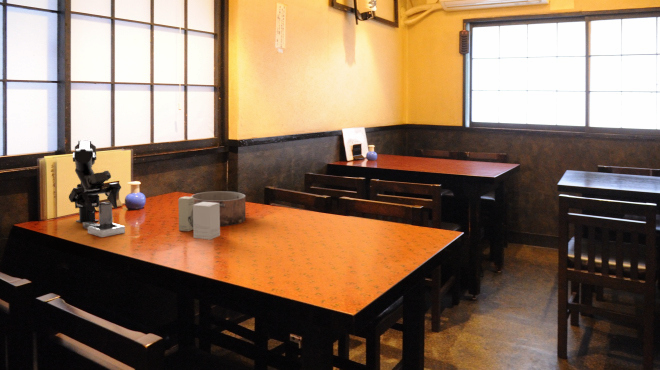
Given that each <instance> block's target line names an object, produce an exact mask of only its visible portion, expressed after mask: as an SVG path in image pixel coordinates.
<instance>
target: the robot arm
mask: <svg viewBox="0 0 660 370" xmlns="http://www.w3.org/2000/svg"><path fill="white" fill-rule="evenodd" d="M77 141H78V143H77V144H76V145H75V146H74V152H73V153H72V162H74V165H75V169H74V172H75V174H76V175H77V178H78V180H79V181H80V183H78V184H77V185H76V187H73V189H72V190H70V193H69V194H68V200H69V201H70V203H74V208H75V209H78V211H79V214H78V215H79V219H76V220H75V222H77V223H80V224H83V222H87V221H90V222H93V223H97V222H99V219H96V208H99V204H100V203H101V202H100V195H102V194H104V195H105V196H106V199H107V201H108V202H111V204H112V208H114V209H115V210H116V209H117V208H118V203H117V201H118V199H117V196H118V194H119V192H120V190H121V189H122V185H121V183H119V182H112V183H111V182H110V183H108V184H107V187H103V186H105V182H107V181H109V180H110V179H111V178H112V175H111V172H110V171H109V170H104V171H102V172H94V169H93V165H94V164H96V163H95V161H96V160H97V147H96V146H95V145H94V144H93V143H92V140H89V139H80V140H77Z"/></svg>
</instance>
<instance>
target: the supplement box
mask: <svg viewBox="0 0 660 370" xmlns="http://www.w3.org/2000/svg"><path fill="white" fill-rule="evenodd" d="M192 232H193V238H194V239H201V240H209V241H210V240H213V239H215V238H218V237H220V236H221V226H220V206H219V203H213V202H200V203H197V204H194V205H193V231H192Z"/></svg>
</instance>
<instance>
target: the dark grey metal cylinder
mask: <svg viewBox="0 0 660 370" xmlns="http://www.w3.org/2000/svg"><path fill="white" fill-rule="evenodd" d="M98 220H99V221H98V222H99V223H98V224H99V226H100V229H108V228H113V223H114V221H113V206H112V204H111V202H109V201H103V202H100V204H99V207H98Z"/></svg>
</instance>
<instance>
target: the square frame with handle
mask: <svg viewBox="0 0 660 370" xmlns="http://www.w3.org/2000/svg"><path fill="white" fill-rule="evenodd" d="M82 228H83V229H85V230H87V234H90V235H93V236H97V237H100V238H104V237H111V236H115V235H120V234H125V233H126V231H125V230H126V226H125V225H121V224H118V223H114V222H113V228H108V229H100V226H99V223H97V222H90V221H87V222H83V223H82Z"/></svg>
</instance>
